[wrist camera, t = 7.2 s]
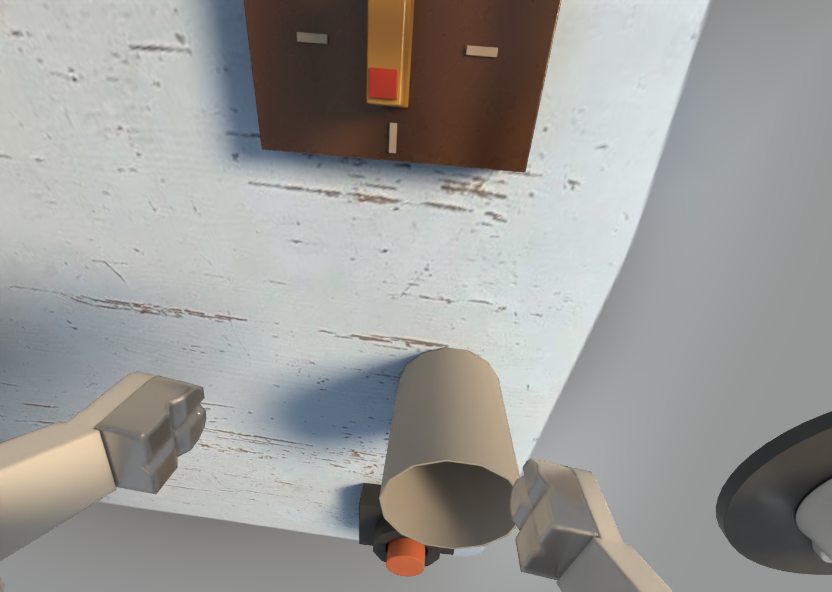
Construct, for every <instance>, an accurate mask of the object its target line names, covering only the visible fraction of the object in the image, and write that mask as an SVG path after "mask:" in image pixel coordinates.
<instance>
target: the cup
mask: <svg viewBox="0 0 832 592" xmlns="http://www.w3.org/2000/svg"><path fill="white" fill-rule="evenodd" d="M518 478H520V475H519V471H518V466H517V462H516V457H515V452H514V448H513V443H512V439H511V434H510V429H509V425H508V420H507V416H506V411H505V406H504V402H503V397H502V393H501V388H500V383H499V379H498V377H497V375H496V374H495V372H494V371H493V369H492V368H491V366H490V364H489V363H488V362H487V361H485V360H484V359H482V358H480V357H478V356H477V355H475V354H473V353H472V352H470V351H466V350H459V349H452V348H441V349H437V350H433V351H428V352H424V353H422V354H420V355H419V356H418V357H416V358H415V359H414V360H412V361H411V362H410V363H408V364H407V365H406V366H405V368H404V371H403V373H402V375H401V377H400V380H399V382H398V388H397V394H396V400H395V406H394V412H393V418H392V424H391V430H390V436H389V442H388V448H387V454H386V460H385V466H384V472H383V479H382V485H381V491H380V497H379V500H380V504H381V508H382V512H383V516H384V518H385V519H386V520H387V521H388V522H389V523H390V524H391V525H392V526H393V527H394V528H395V529H396V530H397V531H398V532H399V533H400V534H401V535H404V536H406V537H408V538H411V539H413V540H415V541H417V542H420V543H422V544H424V545H428V546H435V547H442V548H449V549H462V548H471V547H480V546H485V545H488V544H490V543H492V542H494V541H497V540H499V539H502V538H504V537H506V536H508V535H509V534H510V533H511V532H512V531H513V530H514V529H515V528H516V524H515V523H514V522H513V520H512V516H511V509H510V497H511V492H512V487H513V485H514V483H515V481H516V479H518Z"/></svg>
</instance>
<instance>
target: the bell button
mask: <svg viewBox="0 0 832 592" xmlns="http://www.w3.org/2000/svg"><path fill="white" fill-rule="evenodd" d="M386 566H387V568H388V569H389V570H390V571H391V572H393V573H395V574H397V575H400V576H416V575H418V574H420V573H422V572H423V570H424V567H425V545H424V544H422V543H420V542H417V541H415V540H413V539H410V538H397V539H392V540H391V541H390V542H389V545H388V552H387V560H386Z"/></svg>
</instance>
